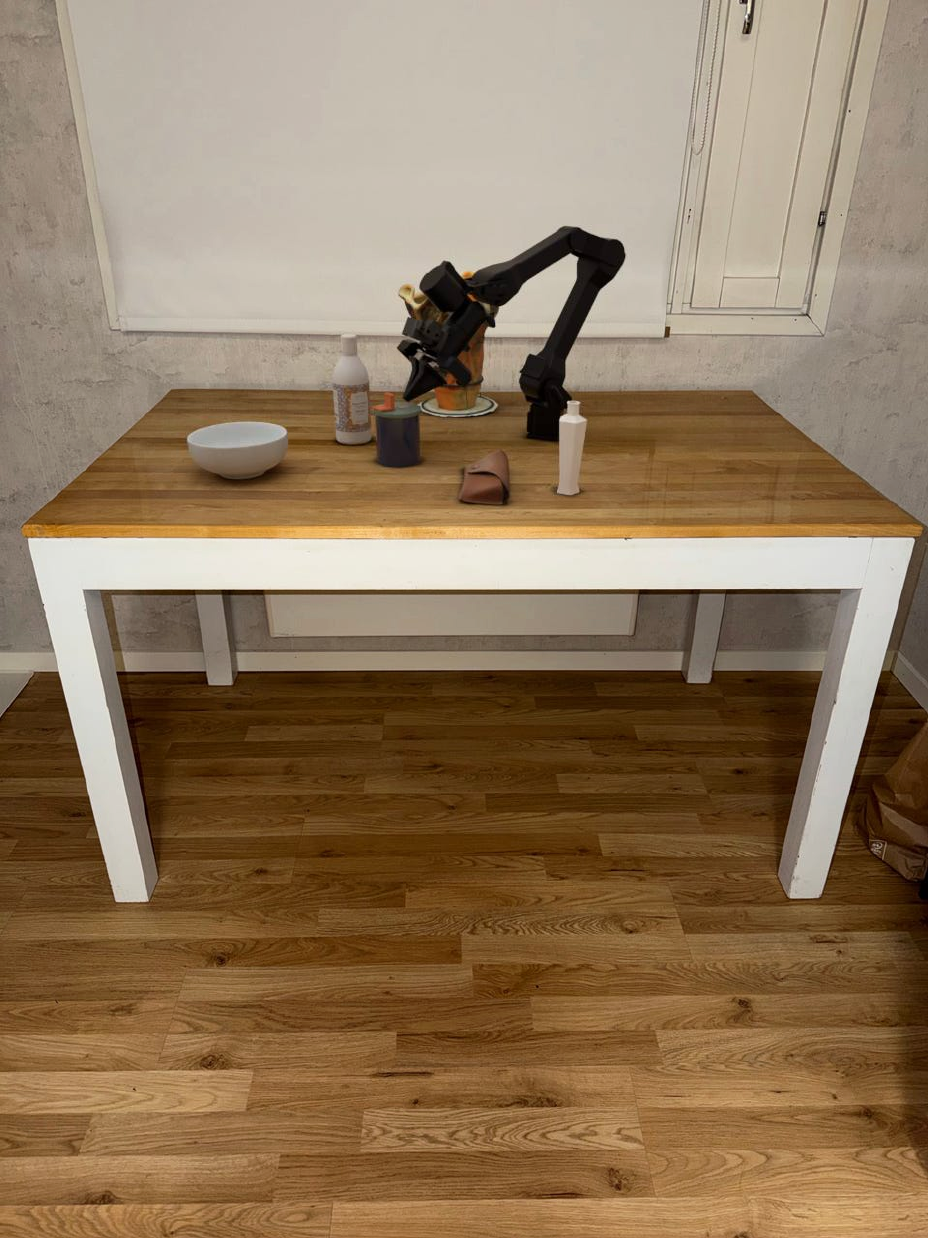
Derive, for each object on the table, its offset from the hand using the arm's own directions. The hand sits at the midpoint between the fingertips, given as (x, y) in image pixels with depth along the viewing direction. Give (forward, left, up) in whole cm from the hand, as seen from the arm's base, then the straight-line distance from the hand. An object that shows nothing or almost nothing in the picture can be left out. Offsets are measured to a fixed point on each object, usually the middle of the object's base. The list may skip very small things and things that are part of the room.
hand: (405, 399), depth 155 cm
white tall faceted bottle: (-32, +5, -11) cm, 35 cm away
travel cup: (+1, +1, -11) cm, 11 cm away
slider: (+3, +4, -1) cm, 5 cm away
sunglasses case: (-19, +8, -11) cm, 23 cm away
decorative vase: (+6, -38, -11) cm, 40 cm away
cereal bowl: (+24, +18, -11) cm, 32 cm away
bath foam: (+15, -7, -11) cm, 19 cm away
